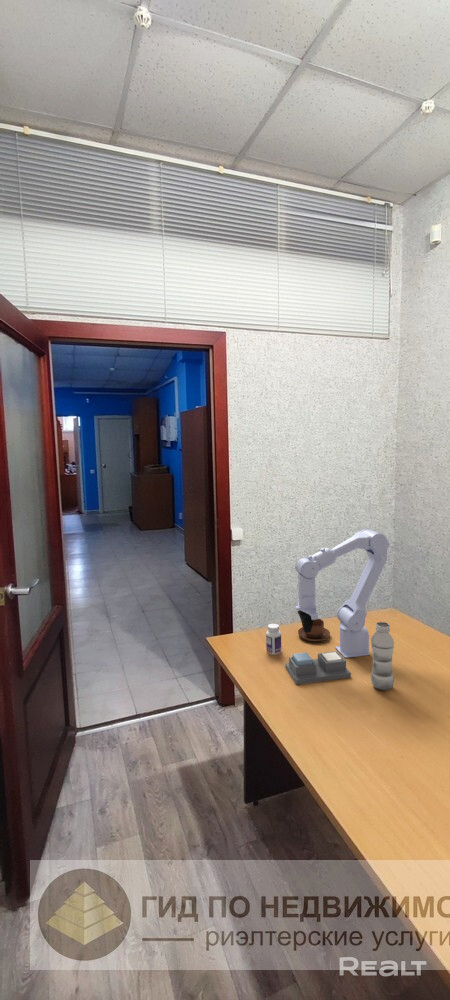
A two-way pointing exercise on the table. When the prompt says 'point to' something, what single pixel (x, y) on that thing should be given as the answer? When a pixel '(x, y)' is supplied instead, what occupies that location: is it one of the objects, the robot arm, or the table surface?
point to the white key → (331, 657)
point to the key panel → (318, 670)
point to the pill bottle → (273, 639)
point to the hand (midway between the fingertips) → (307, 631)
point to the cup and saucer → (315, 632)
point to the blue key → (302, 659)
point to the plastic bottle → (382, 657)
